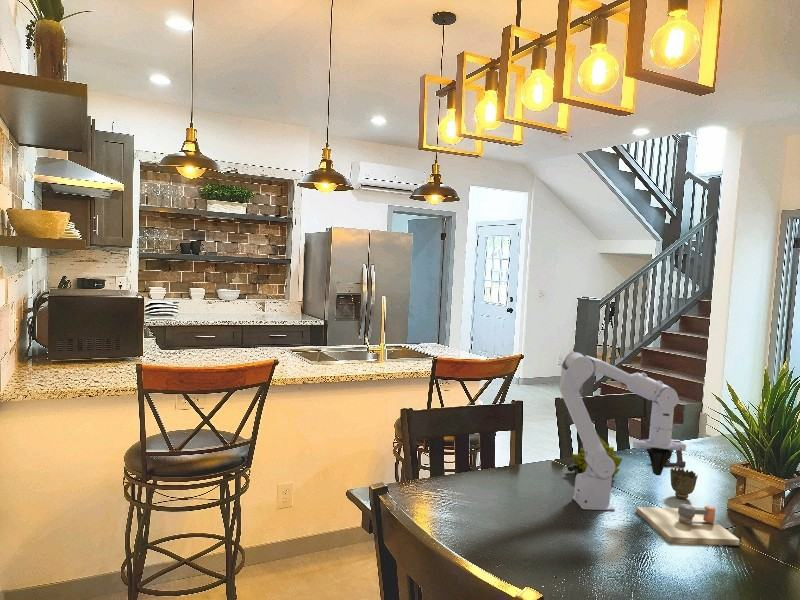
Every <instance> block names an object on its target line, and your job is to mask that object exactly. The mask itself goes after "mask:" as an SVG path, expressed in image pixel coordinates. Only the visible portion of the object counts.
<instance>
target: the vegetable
mask: <svg viewBox="0 0 800 600" xmlns="http://www.w3.org/2000/svg"><path fill="white" fill-rule="evenodd" d="M597 435H598V437H599V440H600V442H601V444H602V445H603V447H604V449H605V451H606V453H607V455H608V456H609V457H610V458H611V459H612V460H613V461H614V463H615V467H616V468H615V472H614V474H613V475H612V480H613V479H614V478H615V476H616V474H618V473H619V471H620V468H619V466H620V465H621V463H622V459H623V458H622V457H619V456H616V455H615V449H614V446H610V445H608V443H606V442H605V440H604V439H603V438H601V437H600V435H599V434H597ZM579 451H580V452H579V453H571V458H572V461H573V463H574V465H572V466H571V465H568V466H566V467H567V471H568V472H574V473H576V475H577V474H579V473H584V472H585V471H586V468H587V466H588V464H587V463H586V461H585V451H584V448H583V447H580V450H579Z"/></svg>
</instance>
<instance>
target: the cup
mask: <svg viewBox="0 0 800 600" xmlns="http://www.w3.org/2000/svg"><path fill="white" fill-rule="evenodd" d="M669 470H670V485H671V488H672V490H673V491H674V492H675V493H674V495H675V497H676V498H678V499H680V500H687V499H688V498H689V495H690V494H692V493H693V492H694V491H695V488H696V483H697V479H698V475H699V474H696V472H694V470H691V471H689V469H686V470H685V469H684V468H681V467H678V469H677V468H676V467H675V468H674V467H673V468H670V469H669Z"/></svg>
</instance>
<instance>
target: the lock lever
mask: <svg viewBox="0 0 800 600" xmlns="http://www.w3.org/2000/svg"><path fill="white" fill-rule="evenodd" d="M677 508H678V514H680V515H682V516H684V517H689V518H692V517H694V516H695V514H700V515H704V517H703V520H704V521H706V522H708V523H714V521H715V518H716V517H715V516H716V507H713V506H711V505H704V506H703V507H694V506H693V505H690V504H687V503H678V506H677Z"/></svg>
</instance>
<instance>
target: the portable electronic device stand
mask: <svg viewBox="0 0 800 600" xmlns="http://www.w3.org/2000/svg"><path fill="white" fill-rule="evenodd" d="M671 441H672V442H681V440H680V439H672V438H671ZM673 451H674V450H670V452H672V453H673ZM675 453H676V462H671V461H670V460H671V457H672V456H671V457H670V458H669V460H668V461H667V462H666V464H665V465H666V466H665V467H674V466H679V467H678V468H685V467H686V461H684V460H683V459H684V458H683V451H681V450H675Z"/></svg>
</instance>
